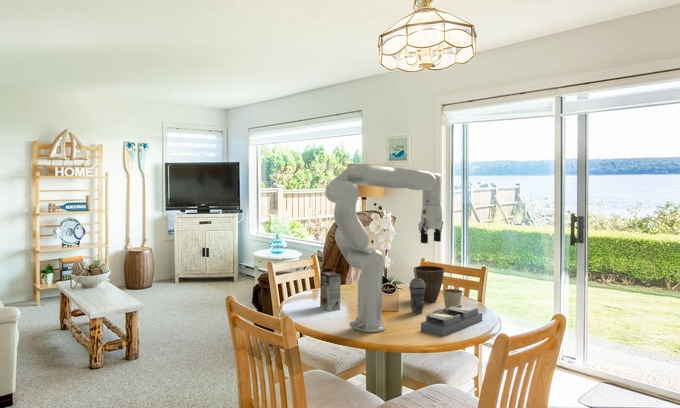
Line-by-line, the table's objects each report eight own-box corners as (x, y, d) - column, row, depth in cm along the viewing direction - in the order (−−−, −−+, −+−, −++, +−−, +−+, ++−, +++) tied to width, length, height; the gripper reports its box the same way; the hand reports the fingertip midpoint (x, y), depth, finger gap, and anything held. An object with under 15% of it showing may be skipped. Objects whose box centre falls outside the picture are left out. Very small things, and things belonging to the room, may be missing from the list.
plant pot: (430, 306, 214) (430, 272, 214) (406, 299, 226) (407, 267, 225) (450, 301, 224) (450, 268, 223) (426, 295, 235) (427, 264, 235)
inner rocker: (443, 319, 174) (443, 316, 174) (429, 316, 178) (430, 313, 178) (456, 320, 181) (456, 316, 181) (443, 316, 185) (443, 313, 185)
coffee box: (319, 306, 212) (319, 272, 211) (331, 305, 215) (332, 271, 214) (328, 311, 204) (328, 275, 203) (340, 309, 207) (341, 274, 206)
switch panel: (443, 336, 170) (443, 322, 170) (420, 330, 177) (421, 316, 177) (482, 320, 192) (482, 307, 191) (461, 315, 199) (461, 303, 198)
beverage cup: (425, 315, 199) (425, 269, 198) (408, 314, 200) (409, 269, 199) (425, 310, 206) (426, 266, 205) (409, 309, 207) (409, 266, 206)
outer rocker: (462, 312, 184) (462, 309, 184) (449, 309, 188) (449, 306, 188) (474, 313, 191) (474, 310, 191) (461, 311, 195) (461, 308, 195)
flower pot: (439, 306, 213) (440, 288, 213) (460, 307, 213) (460, 288, 213) (443, 312, 204) (444, 293, 204) (465, 312, 204) (465, 293, 203)
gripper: (427, 202, 185) (426, 244, 186) (450, 202, 198) (449, 241, 198) (412, 202, 191) (411, 243, 191) (435, 201, 203) (434, 240, 203)
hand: (430, 242), depth 195 cm, fingers open, 9 cm apart
